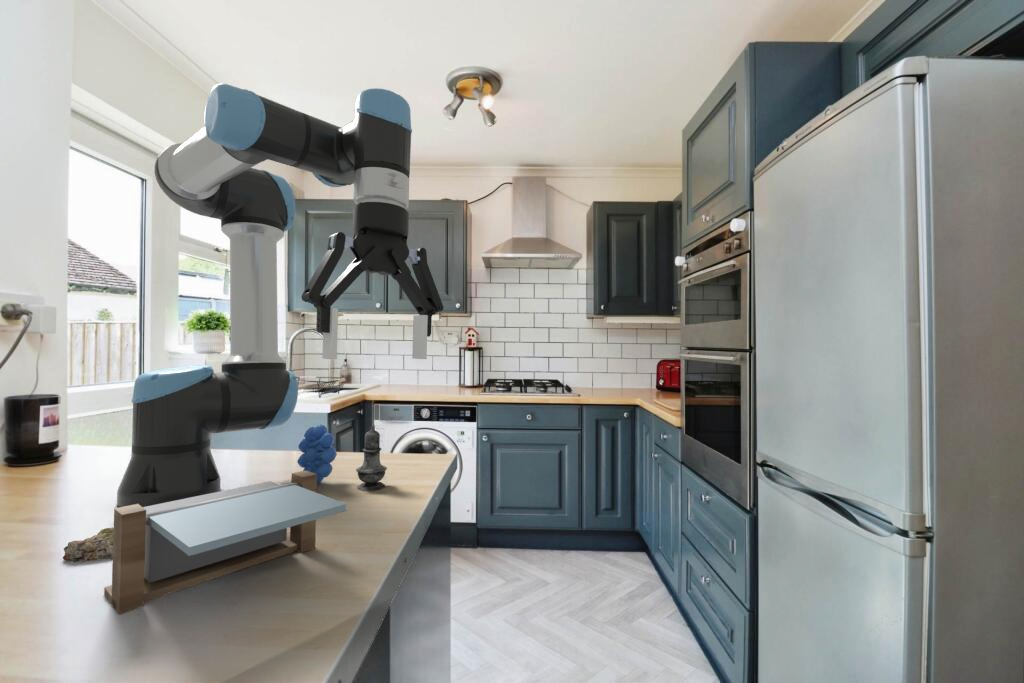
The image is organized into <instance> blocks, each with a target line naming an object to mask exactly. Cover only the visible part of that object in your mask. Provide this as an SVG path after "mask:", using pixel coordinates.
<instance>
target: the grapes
mask: <svg viewBox="0 0 1024 683" xmlns="http://www.w3.org/2000/svg"><path fill="white" fill-rule="evenodd" d="M335 441H336V440H335V436H334V435H333V434H332V433H331V432H329V430H328V428H327V426H326V425H324V424H317V426H316V427H314V426H311V427H309V428H308V429H307V430H306V431H305V433H304V435H303V439H302V440H301V441H300V443H299V444H298V449H299V451H300V452H301V453H302V454H301V455H300V456H299V457H298V459H297V461H296V463H297V464H298V466H299V467H300V468H303V470H302V471H305V470H306V471H309V472H312V473H315V474H317V485H318V484H321V482H323V480H324V478H328V477H329V476H330V475H331V473H332V472H333V465H332V464H331V463H333V462H334V461H335V460H336V457H337V456H338V454H337V450H336V448H335V446H334V445H333V444H334V442H335Z"/></svg>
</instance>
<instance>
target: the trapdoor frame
mask: <svg viewBox="0 0 1024 683" xmlns="http://www.w3.org/2000/svg"><path fill="white" fill-rule="evenodd" d="M290 480H291V482H290V483H294V484H295V485H297V486H300V487H302V488H305V489H308V490H310V491H313V492H316V493H317V487H318V486H317V485H318V484H317V474H315V473H312V472H309V471H306V470H305V471H303V470H301V471H296V472H291V479H290ZM316 526H317V519H316V520H312V521H309V522H305V523H302V524H298V525H295V526H292V527H289V528H290V531H289V532H288V531H287V538H286V541H283V542H280V543H277V544H273V545H270V546H267V547H264V548H261V549H257V550H254V551H251V552H248V553H244V554H241V555H238V556H235V557H232V558H228V559H225V560H222V561H219V562H215V563H212V564H209V565H206V566H202V567H199V568H196V569H193V570H190V571H186V572H183V573H180V574H177V575H173V576H170V577H167V578H164V579H161V580H157V581H154V582H151V583H149V582H148V581H147V580H146V579H145V578H144V569H145V535H146V509H144V508H143V507H142V506H140V505H139V504H134V505H129V506H124V507H120V506H118V507H115V508H114V511H113V528H114V534H113V558H112V569H111V570H112V571H111V574H112V575H111V576H112V577H111V584H110V585H108V586H104V588H103V593H104V597H105V598H106V599H107V601H109V603H110V604H111V605H112V607H113V608H114V610H115V611H116V612H117V614H118V615H122V614H125V613H127V612H130V611H134V610H136V609H139V608H141V607H144V603H145V602H147V601H150V600H154V599H156V598H158V597H163V596H165V595H169V594H171V593H174V592H177V591H181V590H184V589H187V588H189V587H191V586H195V585H198V584H201V583H205V582H208V581H210V580H214V579H216V578H219V577H223V576H226V575H227V574H232V573H234V572H238V571H241V570H243V569H246V568H248V567H252V566H256V565H259V564H261V563H264V562H267V561H271V560H274V559H276V558H280V557H283V556H285V555H288V554H292V553H294V551H295V552H299V553H304V552H307V551H310V550H314V549H316V535H317V534H316V533H317V532H316V531H317V530H316V529H317V527H316Z"/></svg>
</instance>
